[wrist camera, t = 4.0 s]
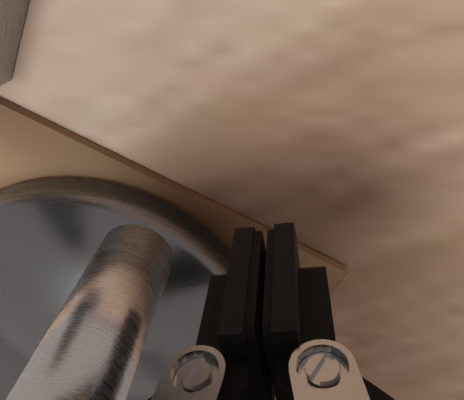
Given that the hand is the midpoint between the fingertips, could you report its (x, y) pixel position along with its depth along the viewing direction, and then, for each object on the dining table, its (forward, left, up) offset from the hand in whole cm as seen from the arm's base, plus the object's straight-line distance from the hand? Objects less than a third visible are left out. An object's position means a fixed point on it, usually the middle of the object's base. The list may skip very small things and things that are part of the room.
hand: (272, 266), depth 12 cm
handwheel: (-9, +4, -4) cm, 10 cm away
